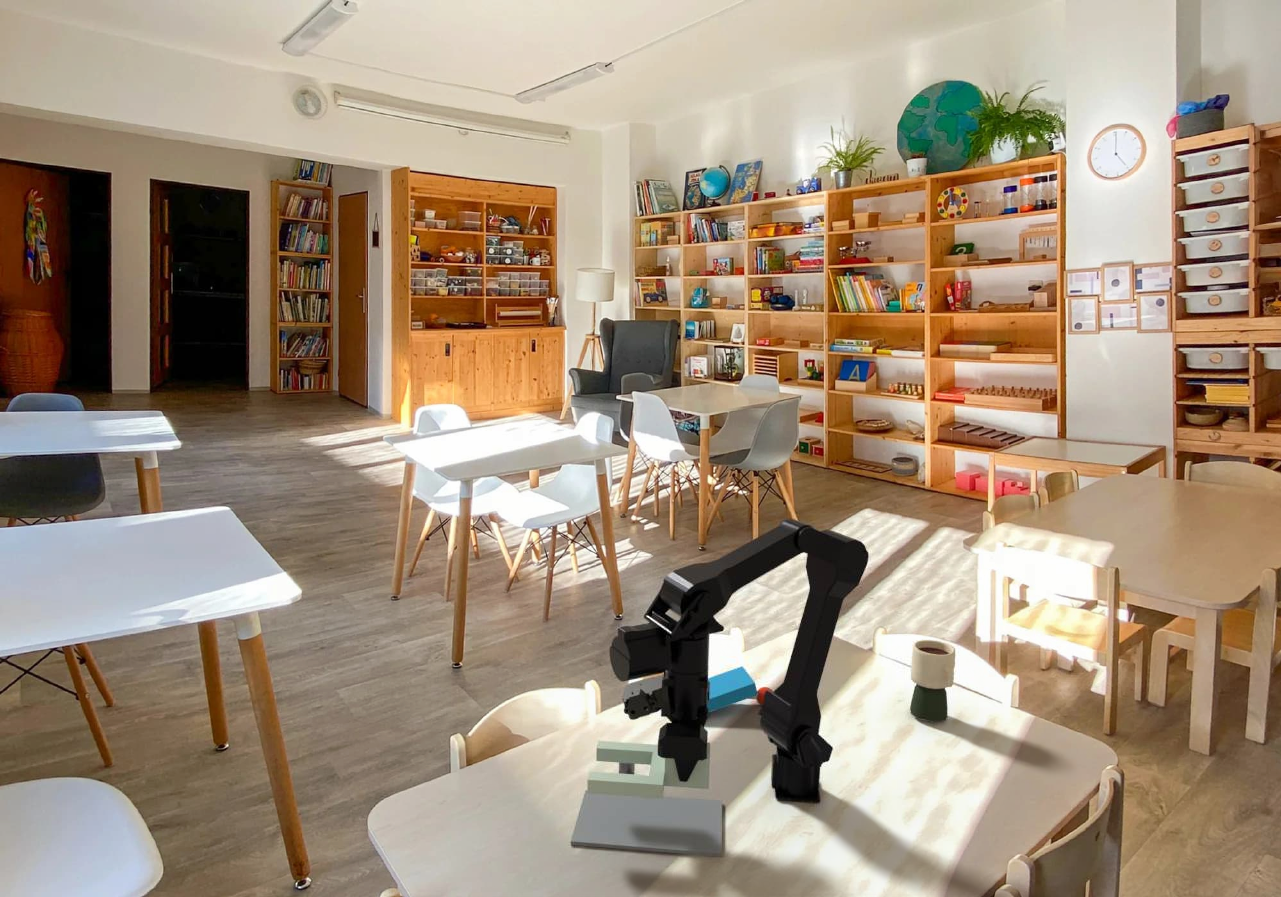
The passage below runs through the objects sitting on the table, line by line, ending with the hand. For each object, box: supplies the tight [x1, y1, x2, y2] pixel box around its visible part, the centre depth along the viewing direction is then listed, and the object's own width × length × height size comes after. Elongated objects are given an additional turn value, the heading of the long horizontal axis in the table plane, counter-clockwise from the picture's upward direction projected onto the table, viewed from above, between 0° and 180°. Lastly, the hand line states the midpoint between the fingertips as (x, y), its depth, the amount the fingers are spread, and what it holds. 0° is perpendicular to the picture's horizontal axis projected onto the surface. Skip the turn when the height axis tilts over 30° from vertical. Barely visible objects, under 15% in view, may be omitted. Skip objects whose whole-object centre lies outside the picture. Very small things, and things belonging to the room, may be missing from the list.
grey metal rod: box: [618, 763, 636, 775], centre depth 130 cm, size 2×2×5 cm
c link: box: [586, 740, 711, 799], centre depth 117 cm, size 16×10×4 cm, turn 84°
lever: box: [707, 666, 774, 714], centre depth 153 cm, size 7×7×18 cm
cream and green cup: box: [909, 639, 956, 722], centre depth 150 cm, size 11×7×13 cm, turn 17°
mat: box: [570, 790, 723, 858], centre depth 119 cm, size 20×12×1 cm, turn 84°
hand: (684, 772), depth 117 cm, fingers closed on c link, 4 cm apart
